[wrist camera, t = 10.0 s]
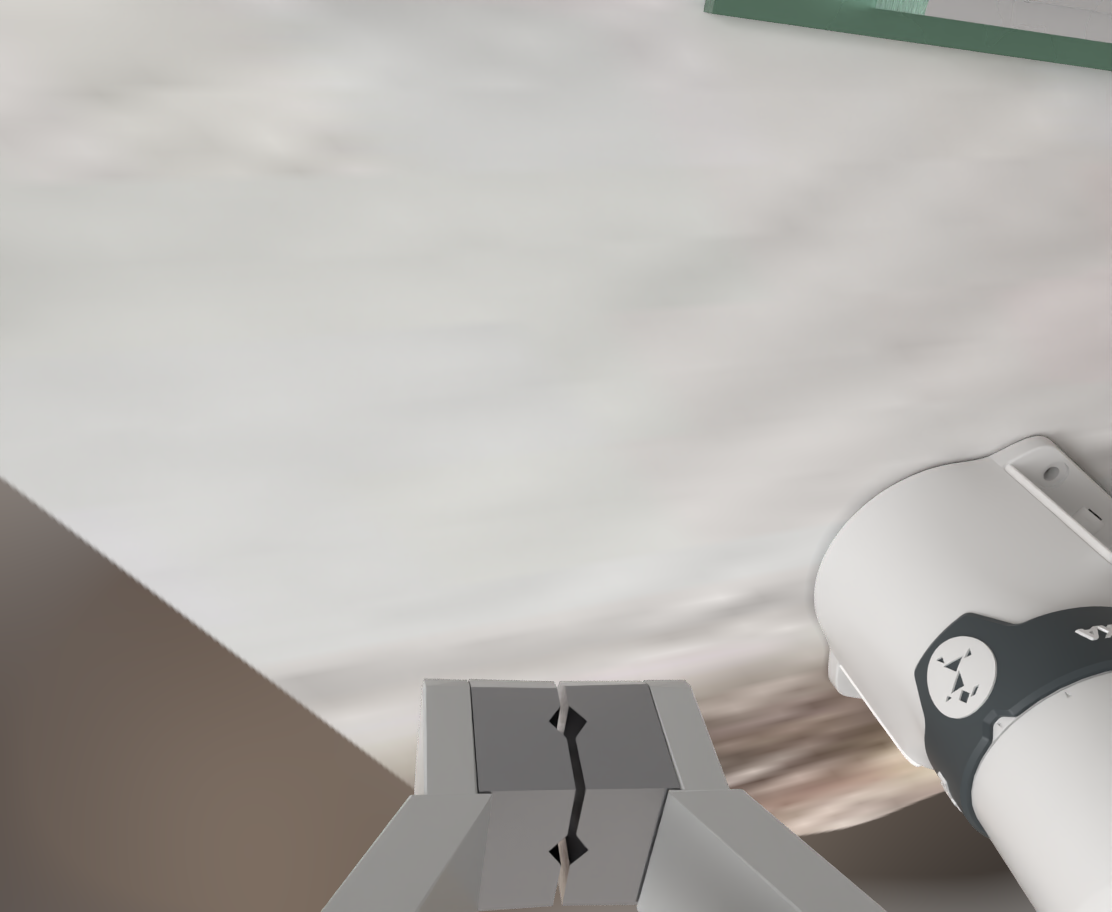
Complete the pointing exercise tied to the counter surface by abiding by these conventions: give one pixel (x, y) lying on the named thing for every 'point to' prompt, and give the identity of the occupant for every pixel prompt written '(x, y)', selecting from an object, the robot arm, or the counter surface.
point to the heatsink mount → (955, 24)
